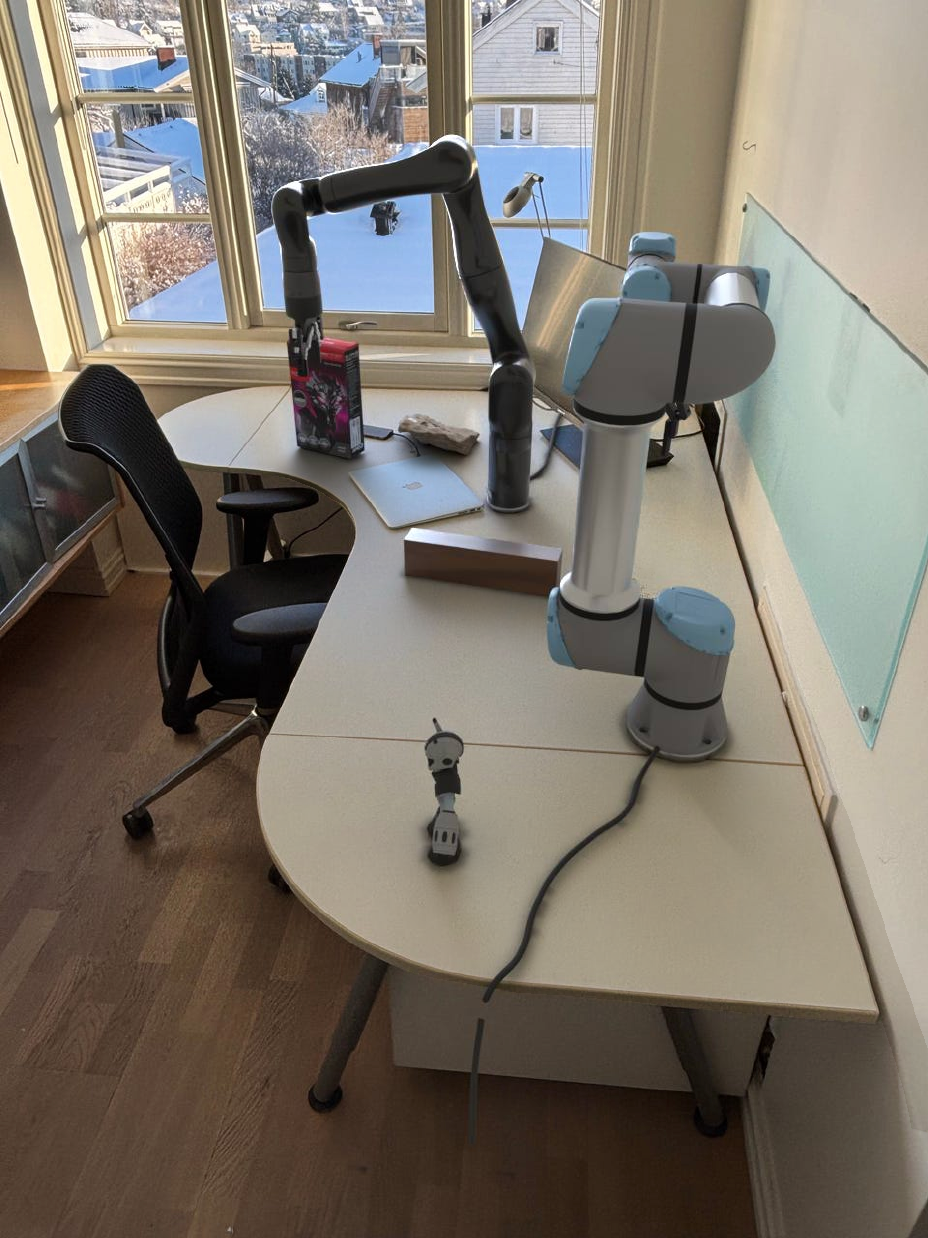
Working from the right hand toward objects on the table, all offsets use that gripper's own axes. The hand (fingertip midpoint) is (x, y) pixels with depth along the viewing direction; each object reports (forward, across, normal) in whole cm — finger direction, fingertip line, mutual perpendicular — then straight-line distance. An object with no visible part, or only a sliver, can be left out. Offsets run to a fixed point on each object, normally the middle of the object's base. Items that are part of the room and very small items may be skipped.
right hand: (629, 445), depth 170 cm
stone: (+26, +63, -35) cm, 76 cm away
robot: (+26, -7, +80) cm, 84 cm away
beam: (+26, +21, +18) cm, 38 cm away
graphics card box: (+26, +83, -18) cm, 89 cm away
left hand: (-2, +72, +2) cm, 72 cm away
